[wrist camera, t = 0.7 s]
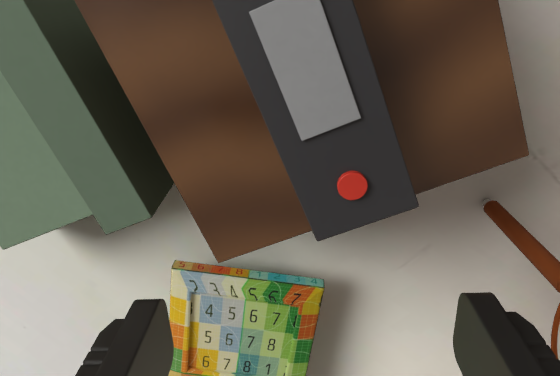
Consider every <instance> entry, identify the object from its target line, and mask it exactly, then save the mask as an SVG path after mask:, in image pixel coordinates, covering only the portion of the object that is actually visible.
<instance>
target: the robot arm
mask: <svg viewBox="0 0 560 376" xmlns="http://www.w3.org/2000/svg"><path fill="white" fill-rule="evenodd" d="M453 348H454V354H455V358H456V361H457V363H458V365H459V368H460V370H461V372H462V374H463V376H560V361H559V359H556V355H555V354H554V353H553V351H552V350H551V349H550V347H549V346H548V345H546V342H545V340H544V339H543V338H542V336H541V335H540V333H539V332H538V331H537V329H536V328H535V327H534V325H532V324H531V323H530V322H528V321H527V320H526V319H524V318H523V317H522V316H520V315H519V314H518V313H516V312H506V311H505V310H504V308H503V307H502V305H501V304H500V302H499V301H498V299H497V298H496V297H495V295H494V294H493V293H490V292H488V293H462V294H461V295H460V297H459V300H458V307H457V314H456V321H455V328H454V335H453ZM173 354H174V344H173V337H172V332H171V327H170V322H169V317H168V312H167V307H166V303H165V301H164V300H163V299H143V300H135V301H134V302H133V304H132V306H131V307H130V309H129V311H128V313H127V315H126V317H125V319H115V320H114V321H113V322H111V323H110V324H109V325H108V326H107V327H106V328H105V329H104V330H103V331H101V332H100V333H99V335H98V337H97V339H96V340H95V342H94V344H93V346H92V347H91V351H90V352H89V353H88V354H87V356H86V358H85V360H84V361H83V365H81V367H80V368H79V370H78V372H77V374H76V375H75V376H168V375H169V372H170V369H171V365H172V361H173Z"/></svg>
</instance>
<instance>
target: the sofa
mask: <svg viewBox="0 0 560 376" xmlns="http://www.w3.org/2000/svg"><path fill="white" fill-rule="evenodd" d="M173 184H174V181H173V179H172V178H171V176H170V174H169V172H168V170H167V168H166V167H165V165H164V163H163V161H162V159H161V157H160V156H159V154H158V152H157V150H156V148H155V147H154V145H153V143H152V141H151V139H150V137H149V136H148V134H147V132H146V130H145V128H144V126H143V125H142V123H141V121H140V119H139V117H138V116H137V114H136V112H135V110H134V108H133V106H132V105H131V103H130V101H129V99H128V97H127V95H126V94H125V92H124V90H123V88H122V86H121V85H120V83H119V81H118V79H117V77H116V75H115V74H114V72H113V70H112V68H111V66H110V64H109V63H108V61H107V59H106V57H105V55H104V54H103V52H102V50H101V48H100V46H99V44H98V43H97V41H96V39H95V37H94V35H93V33H92V32H91V30H90V28H89V26H88V24H87V23H86V21H85V19H84V17H83V15H82V13H81V12H80V10H79V8H78V6H77V4H76V3H75V1H74V0H0V246H1V248H2V249H3V250H4V249H7V248H9V247H12V246H14V245H17V244H19V243H22V242H25V241H27V240H30V239H32V238H35V237H37V236H40V235H42V234H45V233H48V232H50V231H53V230H55V229H58V228H60V227H63V226H65V225H68V224H71V223H73V222H76V221H78V220H81V219H83V218H86V217H88V216H91V215H94V217H95V218H96V220H97V221H98V223H99V225H100V226H101V228H102V229H103V231H104V232H105V234H106V235H107V234H109V233H112V232H115V231H117V230H120V229H123V228H125V227H128V226H131V225H133V224H136V223H138V222H141V221H144V220H146V219H149V218H151V217H152V216H153V215H154V213H155V212H156V210H157V208H158V207H159V205H160V204H161V202H162V201H163V199H164V198H165V196H166V195H167V193H168V192H169V190H170V189H171V187H172V186H173Z"/></svg>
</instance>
